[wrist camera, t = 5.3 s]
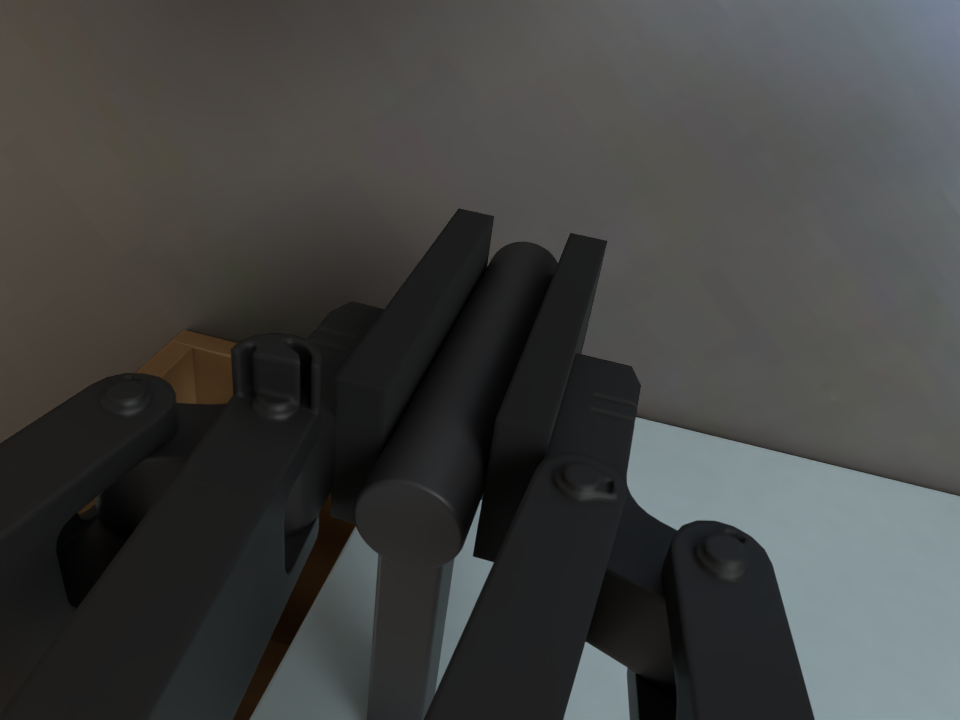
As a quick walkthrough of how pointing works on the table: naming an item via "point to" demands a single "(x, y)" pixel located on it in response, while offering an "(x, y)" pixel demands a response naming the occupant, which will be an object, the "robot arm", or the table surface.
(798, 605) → the door
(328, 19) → the table surface
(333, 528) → the cabinet
